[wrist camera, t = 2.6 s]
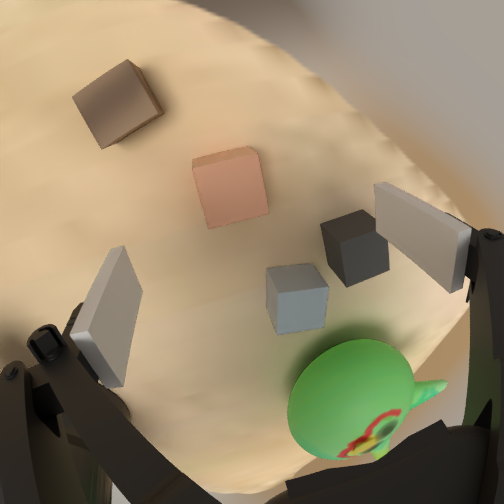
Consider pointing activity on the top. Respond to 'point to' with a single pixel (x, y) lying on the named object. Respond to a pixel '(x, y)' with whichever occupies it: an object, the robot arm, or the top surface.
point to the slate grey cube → (296, 298)
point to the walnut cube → (117, 104)
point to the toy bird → (354, 399)
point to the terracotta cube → (230, 186)
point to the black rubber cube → (355, 247)
